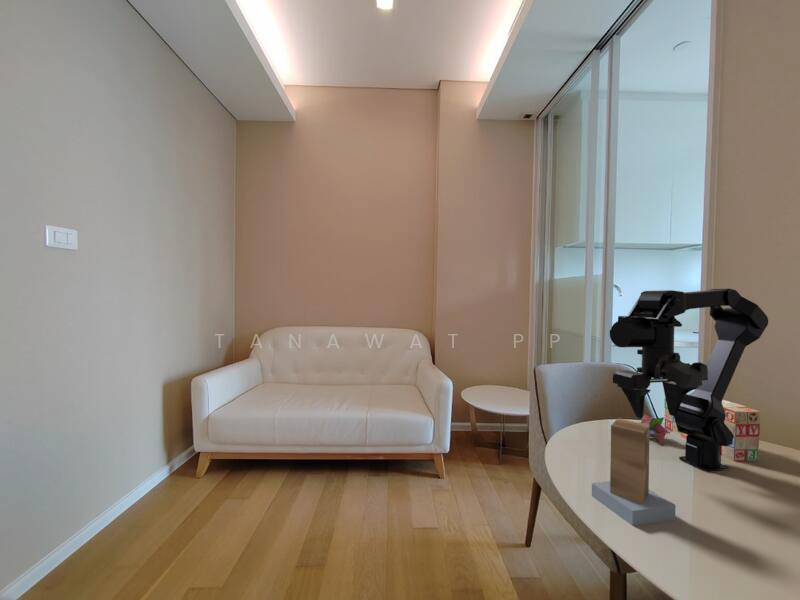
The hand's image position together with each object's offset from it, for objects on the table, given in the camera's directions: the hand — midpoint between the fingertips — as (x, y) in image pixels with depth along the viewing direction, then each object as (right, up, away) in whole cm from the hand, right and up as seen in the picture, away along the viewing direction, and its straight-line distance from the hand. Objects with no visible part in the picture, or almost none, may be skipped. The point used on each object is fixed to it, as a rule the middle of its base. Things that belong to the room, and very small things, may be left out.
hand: (656, 416), depth 78 cm
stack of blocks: (+25, -13, +16) cm, 32 cm away
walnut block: (-15, -9, -14) cm, 22 cm away
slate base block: (-15, -12, -14) cm, 24 cm away
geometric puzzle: (+12, -12, +17) cm, 25 cm away
